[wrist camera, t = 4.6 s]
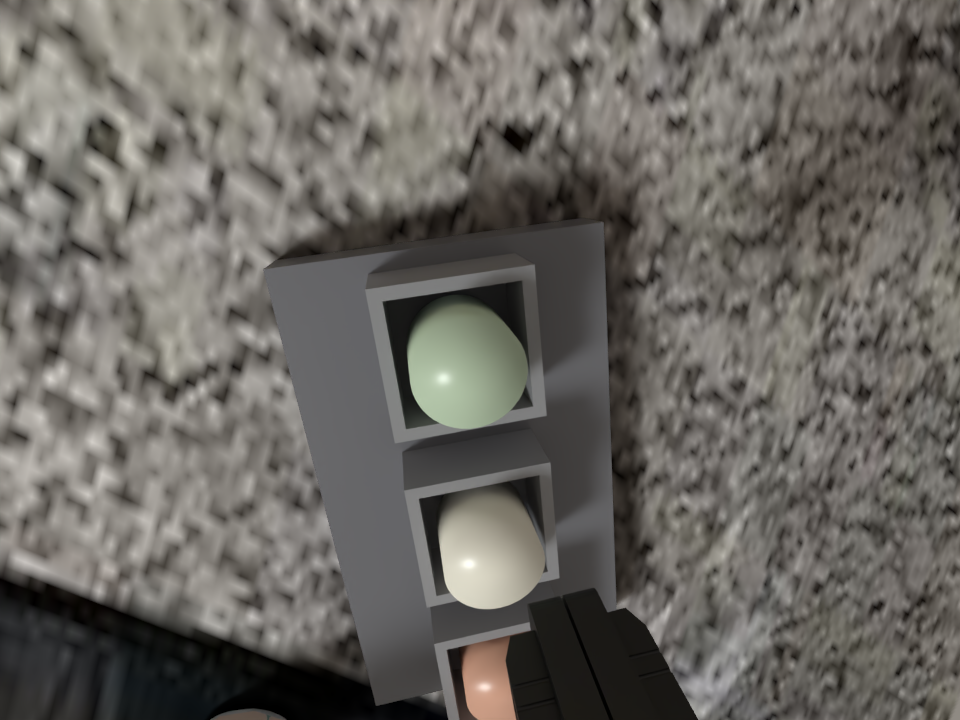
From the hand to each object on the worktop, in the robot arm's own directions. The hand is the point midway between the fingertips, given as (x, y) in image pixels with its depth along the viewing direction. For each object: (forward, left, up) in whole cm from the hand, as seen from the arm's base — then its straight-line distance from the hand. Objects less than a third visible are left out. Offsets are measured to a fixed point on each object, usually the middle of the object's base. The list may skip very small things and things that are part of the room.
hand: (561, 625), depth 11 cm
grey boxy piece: (+1, +2, -11) cm, 11 cm away
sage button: (+1, -4, -7) cm, 9 cm away
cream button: (+1, +2, -7) cm, 8 cm away
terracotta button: (+1, +9, -8) cm, 12 cm away
